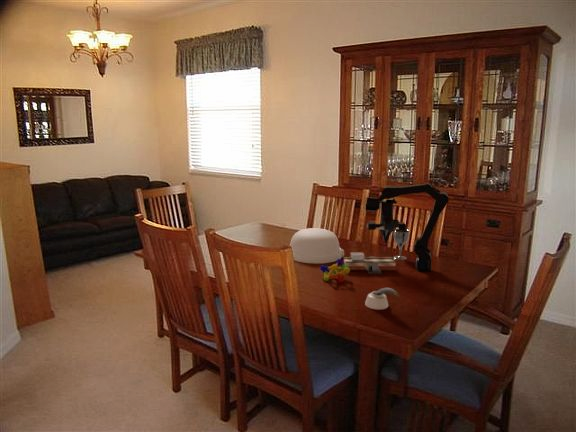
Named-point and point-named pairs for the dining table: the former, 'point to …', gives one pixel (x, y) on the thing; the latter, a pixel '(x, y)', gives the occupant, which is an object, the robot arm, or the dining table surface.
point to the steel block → (357, 256)
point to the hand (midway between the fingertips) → (385, 242)
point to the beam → (370, 261)
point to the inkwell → (379, 298)
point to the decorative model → (335, 271)
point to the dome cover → (316, 246)
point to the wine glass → (400, 241)
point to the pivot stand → (373, 268)
